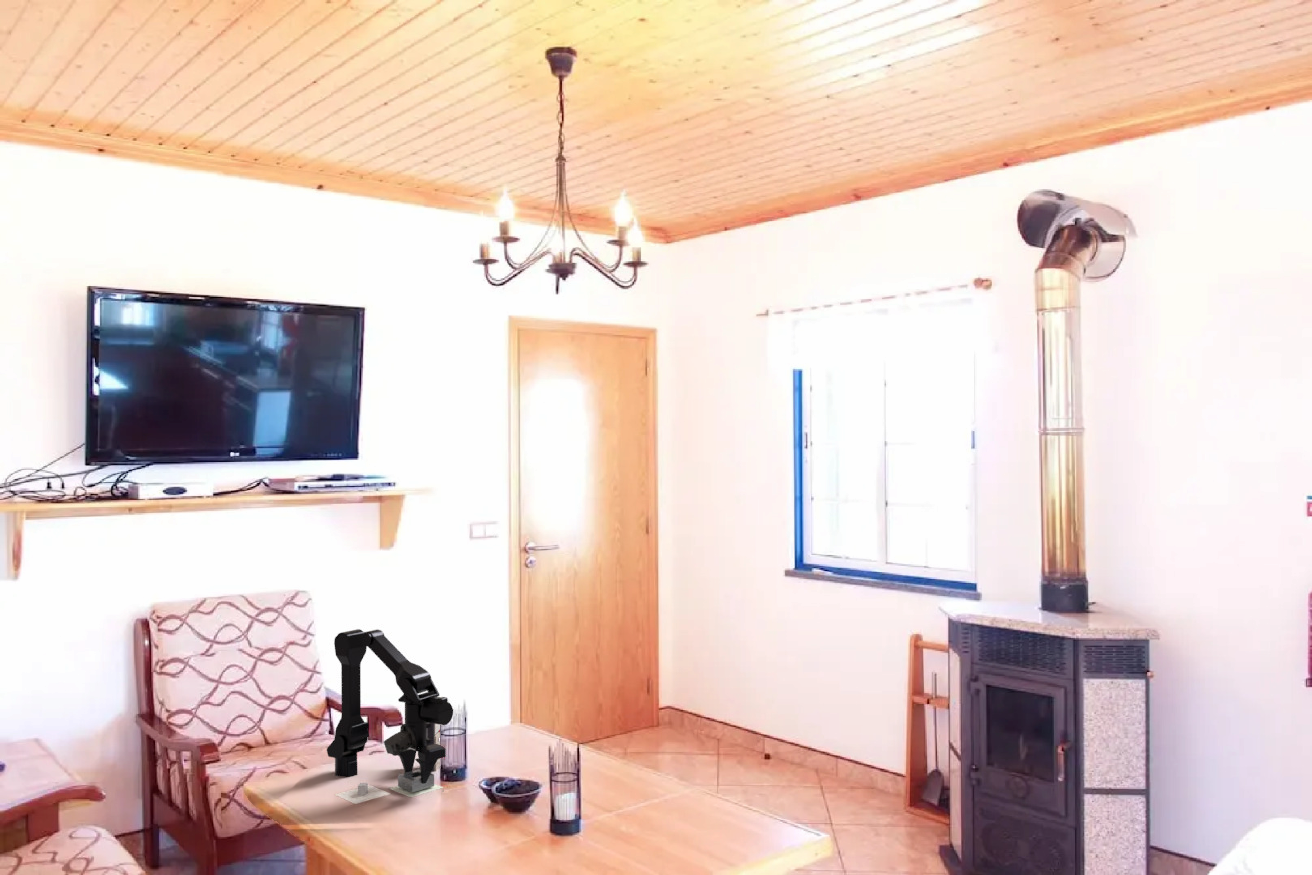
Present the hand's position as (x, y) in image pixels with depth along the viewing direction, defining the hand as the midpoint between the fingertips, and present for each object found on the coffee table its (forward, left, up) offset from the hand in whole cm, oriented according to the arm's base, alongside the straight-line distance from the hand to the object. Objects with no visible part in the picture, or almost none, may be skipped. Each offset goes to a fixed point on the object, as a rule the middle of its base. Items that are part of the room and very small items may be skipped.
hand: (416, 780), depth 263 cm
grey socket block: (0, 0, -2) cm, 2 cm away
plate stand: (-6, -12, -3) cm, 14 cm away
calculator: (-13, +14, -3) cm, 19 cm away
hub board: (0, 0, -3) cm, 3 cm away
